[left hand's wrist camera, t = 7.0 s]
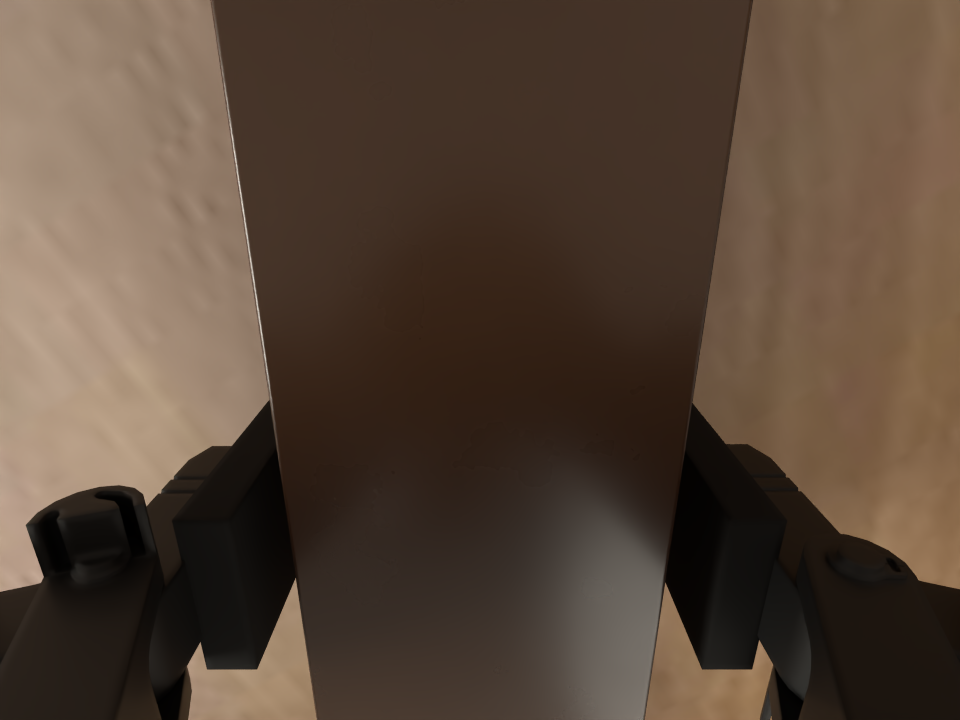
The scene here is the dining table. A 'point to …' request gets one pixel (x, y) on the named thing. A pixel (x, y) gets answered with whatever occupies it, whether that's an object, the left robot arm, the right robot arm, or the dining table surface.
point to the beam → (481, 330)
